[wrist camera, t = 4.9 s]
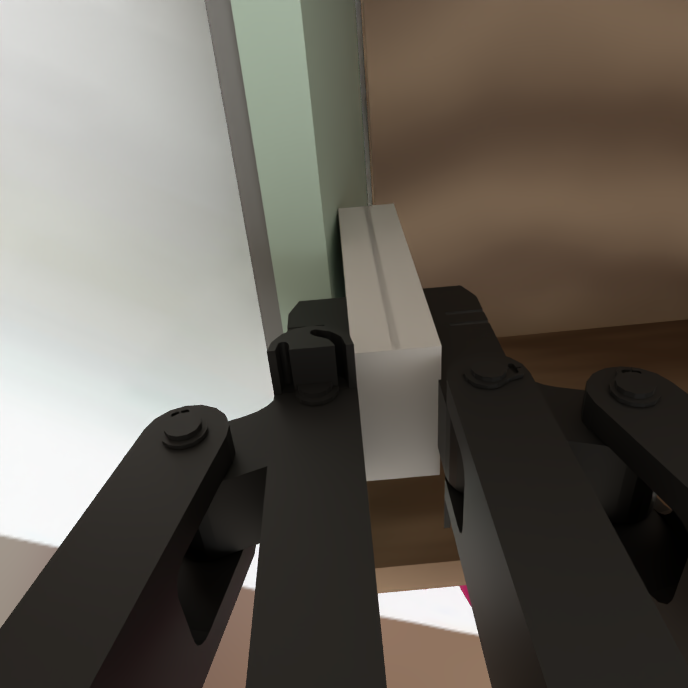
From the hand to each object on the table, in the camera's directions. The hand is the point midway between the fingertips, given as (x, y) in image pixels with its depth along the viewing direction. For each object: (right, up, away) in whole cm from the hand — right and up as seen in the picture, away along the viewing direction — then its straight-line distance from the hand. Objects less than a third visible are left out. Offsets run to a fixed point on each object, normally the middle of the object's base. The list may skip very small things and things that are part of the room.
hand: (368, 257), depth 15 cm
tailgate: (0, +5, +8) cm, 10 cm away
